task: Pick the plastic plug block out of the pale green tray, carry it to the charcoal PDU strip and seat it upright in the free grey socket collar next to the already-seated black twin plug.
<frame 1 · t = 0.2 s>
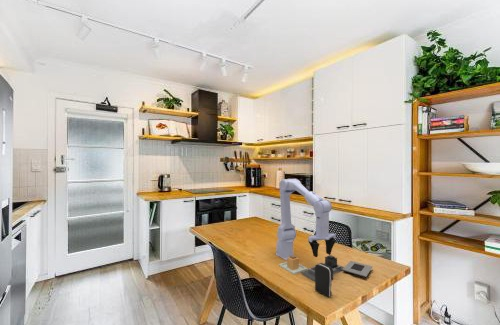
hand: (321, 255, 109), 10 cm above the table, fingers open, 7 cm apart
pdu strip: (324, 272, 113), on the table
electrical outlet: (357, 272, 114), on the table, touching pdu strip
battery charger: (324, 293, 95), on the table
tray: (292, 268, 117), on the table
plug: (292, 267, 117), resting on tray
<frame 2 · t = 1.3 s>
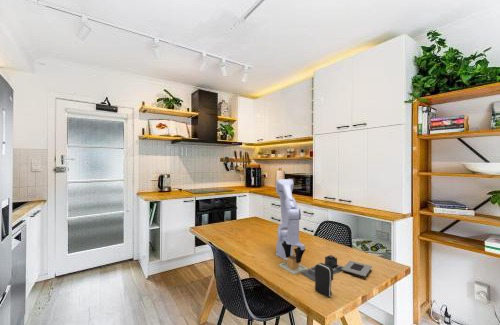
hand: (293, 259, 117), 4 cm above the table, fingers open, 7 cm apart
electrical outlet: (357, 272, 114), on the table
everything else where it was.
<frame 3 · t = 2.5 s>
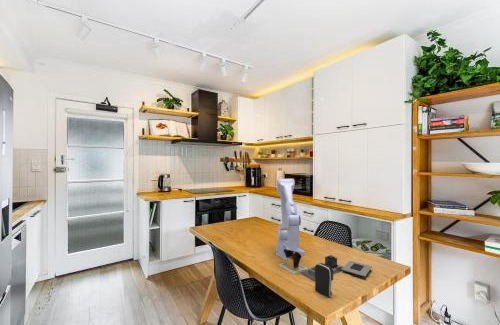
hand: (292, 265, 117), 2 cm above the table, fingers closed on plug, 4 cm apart
electrical outlet: (356, 272, 114), on the table, touching pdu strip
plug: (292, 267, 117), resting on tray, touching gripper
everything else where it was.
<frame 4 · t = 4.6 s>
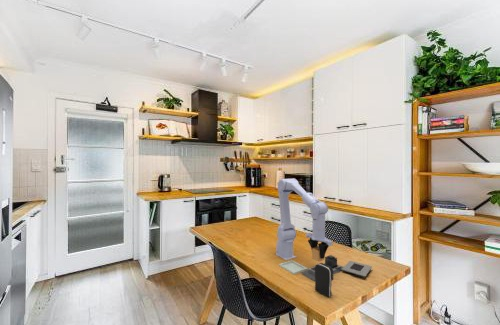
hand: (318, 256, 111), 9 cm above the table, fingers closed on plug, 4 cm apart
plug: (318, 259, 111), point 7 cm above the table, touching gripper
everything else where it was.
when the fingers open (3 cm above the table, at t = 6.6 s): plug stays where it is, resting on pdu strip.
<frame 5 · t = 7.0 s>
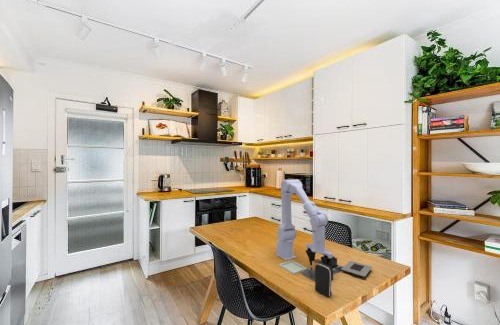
hand: (318, 268, 111), 3 cm above the table, fingers open, 7 cm apart
plug: (318, 272, 111), point 1 cm above the table, touching pdu strip
everything else where it was.
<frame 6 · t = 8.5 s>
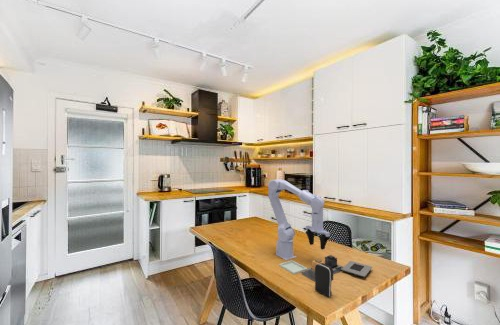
hand: (317, 246, 121), 9 cm above the table, fingers open, 7 cm apart
nothing on the table moved.
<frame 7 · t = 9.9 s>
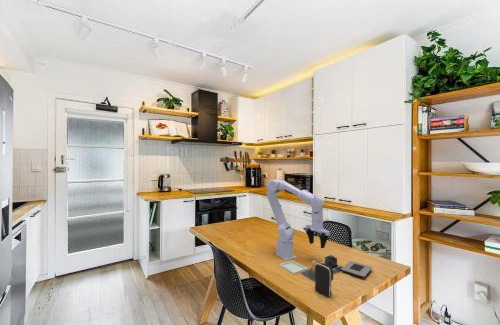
hand: (317, 245, 123), 9 cm above the table, fingers open, 7 cm apart
nothing on the table moved.
at the end: plug 0.1 cm from the target spot on the pdu strip, point 1.2 cm above the pdu strip's base; plug tilted 0°; the gripper is holding nothing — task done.
